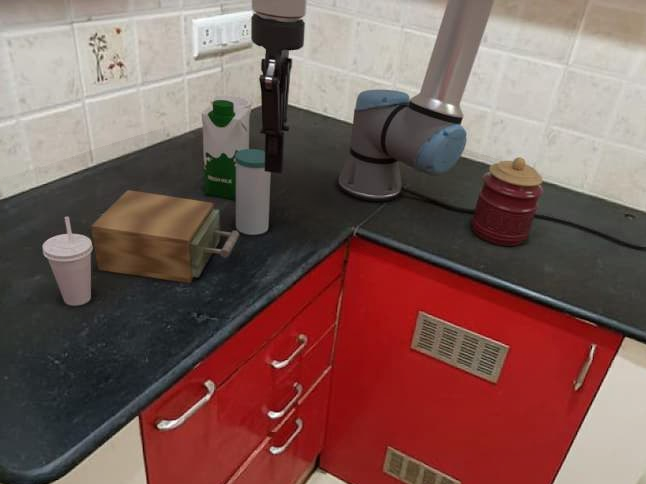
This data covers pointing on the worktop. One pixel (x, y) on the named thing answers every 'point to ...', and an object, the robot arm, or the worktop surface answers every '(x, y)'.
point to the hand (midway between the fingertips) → (273, 170)
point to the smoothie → (71, 265)
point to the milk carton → (223, 146)
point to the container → (252, 192)
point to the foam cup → (234, 100)
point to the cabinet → (149, 235)
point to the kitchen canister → (507, 203)
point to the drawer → (209, 243)
